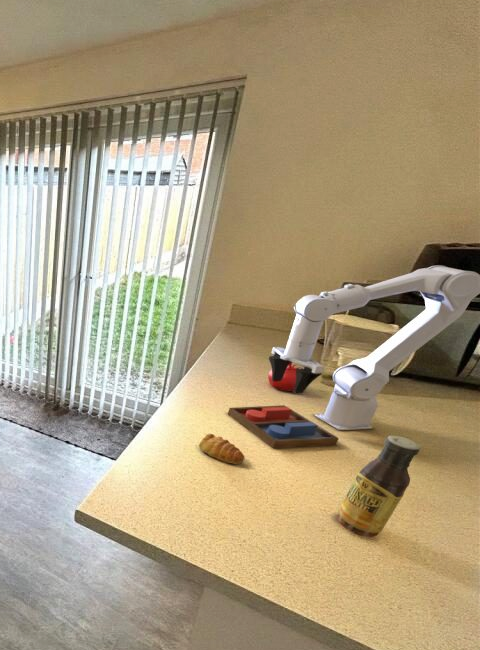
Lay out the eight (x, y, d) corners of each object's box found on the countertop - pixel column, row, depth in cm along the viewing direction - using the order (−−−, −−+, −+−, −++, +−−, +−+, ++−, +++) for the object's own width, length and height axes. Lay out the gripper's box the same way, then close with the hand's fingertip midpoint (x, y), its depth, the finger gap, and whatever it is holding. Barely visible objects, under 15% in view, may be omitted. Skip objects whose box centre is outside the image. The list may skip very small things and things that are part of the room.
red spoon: (280, 413, 113) (283, 404, 112) (292, 421, 109) (295, 411, 108) (241, 415, 112) (244, 406, 111) (252, 423, 108) (255, 413, 107)
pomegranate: (305, 397, 123) (315, 370, 119) (266, 390, 128) (274, 364, 124) (301, 385, 131) (310, 359, 127) (264, 379, 136) (272, 354, 132)
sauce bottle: (326, 516, 78) (364, 431, 70) (355, 513, 78) (396, 428, 70) (359, 542, 72) (404, 452, 64) (390, 539, 72) (439, 450, 64)
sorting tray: (282, 411, 115) (284, 405, 114) (336, 445, 99) (339, 438, 99) (227, 413, 115) (229, 407, 114) (273, 448, 99) (275, 441, 98)
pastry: (248, 459, 95) (252, 446, 93) (233, 469, 92) (237, 456, 90) (209, 441, 102) (212, 429, 101) (194, 449, 99) (197, 437, 97)
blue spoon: (304, 428, 105) (307, 419, 104) (318, 438, 101) (322, 428, 100) (263, 430, 105) (266, 421, 103) (275, 440, 101) (279, 430, 99)
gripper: (267, 333, 111) (254, 376, 116) (311, 351, 97) (294, 399, 103) (291, 332, 111) (277, 375, 116) (338, 349, 98) (320, 398, 103)
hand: (286, 386), depth 109 cm, fingers open, 7 cm apart
